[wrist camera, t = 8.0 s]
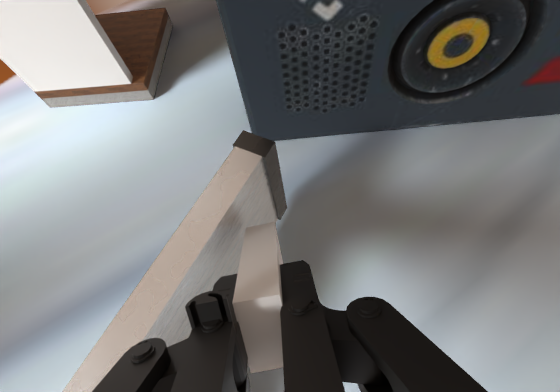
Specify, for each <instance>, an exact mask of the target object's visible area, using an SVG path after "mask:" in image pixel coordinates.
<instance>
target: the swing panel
mask: <svg viewBox="0 0 560 392" xmlns="http://www.w3.org/2000/svg"><path fill="white" fill-rule="evenodd" d="M233 147H234V149H233V150H232V152H231V153H230V154H229V156H228V157H227V159H226V160H225V162H224V163H223V164H222V166H221V167H220V169H219V170H218V171H217V173H216V174H215V176H214V177H213V179H212V180H211V181H210V183H209V184H208V186H207V187H206V189H205V190H204V191H203V193H202V194H201V196H200V197H199V198H198V200H197V201H196V203H195V204H194V206H193V207H192V208H191V210H190V211H189V213H188V214H187V215H186V217H185V218H184V220H183V221H182V223H181V224H180V225H179V227H178V228H177V230H176V231H175V232H174V234H173V235H172V237H171V238H170V240H169V241H168V242H167V244H166V245H165V247H164V248H163V250H162V251H161V252H160V254H159V255H158V257H157V258H156V259H155V261H154V262H153V264H152V265H151V267H150V268H149V269H148V271H147V272H146V274H145V275H144V276H143V278H142V279H141V281H140V282H139V284H138V285H137V286H136V288H135V289H134V291H133V292H132V294H131V295H130V296H129V298H128V299H127V301H126V302H125V303H124V305H123V306H122V308H121V309H120V311H119V312H118V313H117V315H116V316H115V318H114V319H113V320H112V322H111V323H110V325H109V326H108V328H107V329H106V330H105V332H104V333H103V335H102V336H101V337H100V339H99V340H98V342H97V343H96V345H95V346H94V347H93V349H92V350H91V352H90V353H89V355H88V356H87V357H86V359H85V360H84V362H83V363H82V364H81V366H80V367H79V369H78V370H77V372H76V373H75V374H74V376H73V377H72V379H71V380H70V381H69V383H68V384H67V386H66V387H65V389H64V390H63V391H62V392H92V391H93V390H94V389H95V387H96V386H97V385H98V384H99V383H100V382H101V380H102V379H103V378H104V377H105V376H106V374H107V373H108V372H109V371H110V370H111V369H112V367H113V366H114V365H115V364H116V363H117V362H118V360H119V359H120V358H121V357H122V356H123V355H124V353H125V352H127V351H128V350H129V349H130V348H131V347H132V346H134V345H136V344H137V343H139V342H141V341H144V340H146V339H150V338H160V339H163V340H164V341H165V343H166V345H167V347H168V346H171V345H173V344H176V343H178V342H181V341H183V340H185V339H187V338H188V337H189V336H190V333H191V330H192V328H191V325H190V322H189V318H188V315H187V312H186V309H185V306H186V304H187V303H188V302H189V301H190V300H191V299H192V298H194V297H195V296H197V295H199V294H201V293H205V292H208V291H212V290H213V287H214V284H215V283H216V282H217V281H218V279H219V278H220V277H222V276H227V275H233V274H238V269H239V263H240V258H241V252H242V247H243V241H244V235H245V230H246V227H251V226H256V225H262V224H267V223H272V222H275V224H276V222H277V220H278V219H279V220H281V218H282V216H283V214H284V212H285V211H286V209H287V204H286V199H285V193H284V188H283V182H282V177H281V171H280V166H279V160H278V155H277V149H276V144H275V142H274V141H271V140H269V139H266V138H263V137H260V136H258V135H255V134H252V133H249V132H247V131H244V130H243V131H242V133H241V134H240V136H239V137H238V138H237V140H236V141H235V143H234V144H233Z"/></svg>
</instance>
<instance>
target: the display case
mask: <svg viewBox="0 0 560 392" xmlns="http://www.w3.org/2000/svg"><path fill="white" fill-rule="evenodd" d="M172 27H173V25H172V23H171V20H170V18H169V15H168V13H167V11H166V8H159V9H149V10H139V11H130V12H120V13H110V14H101V15H94V13H93V12H92V10H91V9H90V7H89V5H88V4H87V2H86V1H85V0H0V58H1V59H2V60H3V61H4V62H5V63H6V64H7V65H8V66H9V67H10V68H11V69H12V70H13V71H14V72H15V73H16V74H17V75H18V76H19V77H20V78H21V79H22V80H23V81H24V82H25V83H26V84H27V85H28V86H29V87H30V88H31V89H32V90H33V91H34V92H35V93H36V94H37V95H38V96H39V97H40V98H41V99H42V100H43V101H44V102H45V103H46V104H47V105H48V106H49V107H50V108H51V107H64V106H77V105H90V104H103V103H116V102H129V101H142V100H153V99H154V95H155V92H156V88H157V84H158V80H159V77H160V73H161V69H162V65H163V61H164V58H165V54H166V50H167V46H168V42H169V39H170V35H171V31H172Z"/></svg>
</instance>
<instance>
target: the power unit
mask: <svg viewBox="0 0 560 392" xmlns="http://www.w3.org/2000/svg"><path fill="white" fill-rule="evenodd" d="M216 2H217V6H218V9H219V13H220V17H221V21H222V24H223V28H224V32H225V35H226V39H227V43H228V46H229V50H230V54H231V57H232V61H233V65H234V68H235V72H236V76H237V79H238V83H239V87H240V90H241V94H242V98H243V101H244V105H245V109H246V112H247V116H248V120H249V123H250V127H251V131H252V134H255V135H258V136H260V137H263V138H266V139H269V140H271V141H276V140H286V139H297V138H307V137H318V136H329V135H339V134H350V133H360V132H371V131H382V130H392V129H403V128H414V127H424V126H435V125H445V124H456V123H467V122H477V121H488V120H498V119H509V118H520V117H530V116H541V115H552V114H560V0H216Z"/></svg>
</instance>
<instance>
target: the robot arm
mask: <svg viewBox="0 0 560 392" xmlns="http://www.w3.org/2000/svg"><path fill="white" fill-rule="evenodd" d="M185 309H186V312H187V315H188V318H189V322H190V325H191V328H192V330H191V333H190V336H189V337H188V338H187V339H185V340H183V341H181V342H178V343H176V344H173V345H171V346H168V347H167V345H166V343H165V341H164V340H163V339H160V338H150V339H146V340H144V341H141V342H139V343H137V344H136V345H134V346H132V347H131V348H130V349H129V350H128V351H127V352H125V353H124V355H123V356H122V357H121V358H120V359H119V360H118V362H117V363H116V364H115V365H114V366H113V367H112V369H111V370H110V371H109V372H108V373H107V374H106V376H105V377H104V378H103V379H102V380H101V382H100V383H99V384H98V385H97V386H96V387H95V389H94V390H93V391H92V392H250V384H249V379H248V376H247V364H248V365H249V369H250V373H256V372H262V371H267V370H273V369H278V368H283V370H284V386H285V392H345V390H344V387H343V383H342V382H350V383H357V384H358V386H359V389H360V391H361V392H488V391H486V390H485V389H484V388H483V387H482V386H481V385H480V384H479V383H478V382H476V381H475V380H474V379H473V378H472V377H471V376H470V375H469V374H467V373H466V372H465V371H464V370H463V369H462V368H461V367H460V366H458V365H457V364H456V363H455V362H454V361H453V360H452V359H451V358H450V357H448V356H447V355H446V354H445V353H444V352H443V351H442V350H441V349H439V348H438V347H437V346H436V345H435V344H434V343H433V342H432V341H431V340H429V339H428V338H427V337H426V336H425V335H424V334H423V333H422V332H420V331H419V330H418V329H417V328H416V327H415V326H414V325H413V324H412V323H410V322H409V321H408V320H407V319H406V318H405V317H404V316H403V315H401V314H400V313H399V312H398V311H397V310H396V309H395V308H394V307H393V306H391V305H390V304H389V303H388V302H386V301H384V300H383V299H380V298H376V297H363V298H358V299H356V300H354V301H352V302H351V303H350V304H349V305H348V306H347V311H339V310H332V309H329V308H327V307H325V306H323V305H322V304H321V303H320V301H319V299H318V296H317V292H316V288H315V285H314V281H313V277H312V274H311V270H310V266H309V265H308V264H307V263H306V262H304V261H303V260H302V261H297V262H291V263H286V264H283V260H282V255H281V250H280V245H279V240H278V235H277V230H276V225H275V222H272V223H267V224H262V225H256V226H251V227H246V230H245V235H244V241H243V247H242V252H241V258H240V263H239V269H238V274H233V275H227V276H222V277H220V278H219V279H218V281H217V282H216V283H215V284H214V287H213V290H212V291H208V292H205V293H201V294H199V295H197V296H195V297H194V298H192V299H191V300H190V301H189V302H188V303H187V304H186V306H185Z"/></svg>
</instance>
